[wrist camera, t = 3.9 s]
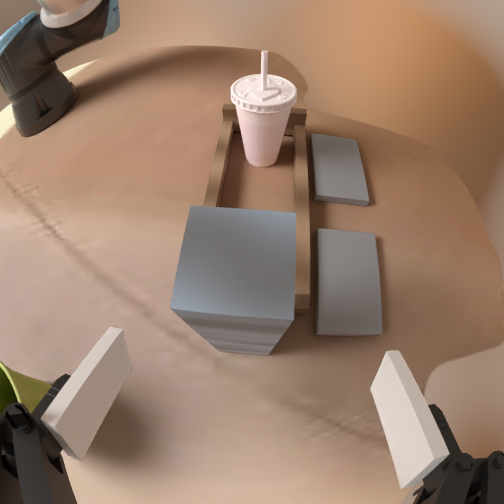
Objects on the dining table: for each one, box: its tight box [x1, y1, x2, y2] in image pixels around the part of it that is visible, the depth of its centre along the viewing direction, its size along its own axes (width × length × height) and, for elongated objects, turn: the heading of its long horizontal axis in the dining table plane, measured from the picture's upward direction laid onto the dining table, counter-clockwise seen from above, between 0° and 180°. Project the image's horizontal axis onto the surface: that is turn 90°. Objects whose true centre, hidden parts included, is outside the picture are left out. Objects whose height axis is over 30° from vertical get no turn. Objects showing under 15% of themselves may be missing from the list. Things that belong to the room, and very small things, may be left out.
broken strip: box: [310, 133, 383, 336], centre depth 28 cm, size 24×6×1 cm, turn 175°
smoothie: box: [231, 50, 297, 167], centre depth 25 cm, size 6×6×14 cm
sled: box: [170, 104, 310, 355], centre depth 21 cm, size 27×10×15 cm, turn 175°
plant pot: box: [0, 361, 52, 450], centre depth 15 cm, size 9×9×9 cm
